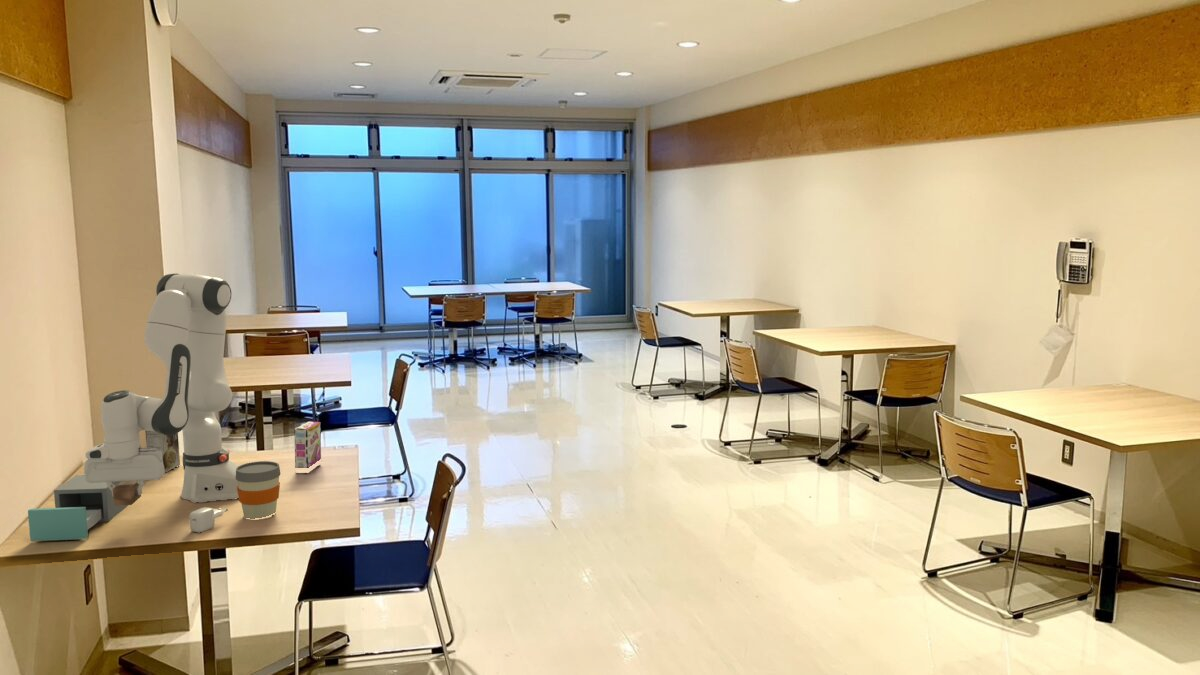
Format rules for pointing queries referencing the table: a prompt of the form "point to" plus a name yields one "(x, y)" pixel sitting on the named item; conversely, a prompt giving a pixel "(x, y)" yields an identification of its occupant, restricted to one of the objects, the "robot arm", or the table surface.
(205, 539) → the table surface
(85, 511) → the teal drawer
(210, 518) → the power adapter
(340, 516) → the table surface
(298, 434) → the candy bar box
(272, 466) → the reusable coffee cup
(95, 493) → the gray drawer box
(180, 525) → the table surface
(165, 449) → the coffee box
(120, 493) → the walnut block
